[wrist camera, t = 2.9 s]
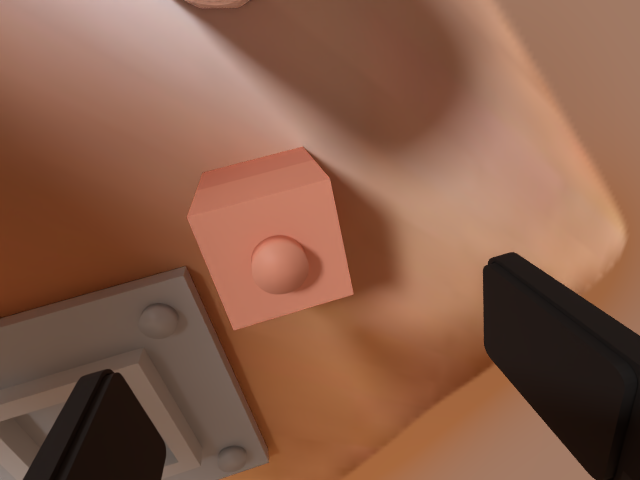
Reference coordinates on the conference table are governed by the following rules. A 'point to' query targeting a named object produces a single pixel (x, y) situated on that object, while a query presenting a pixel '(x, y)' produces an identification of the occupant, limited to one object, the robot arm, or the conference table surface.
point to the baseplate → (129, 375)
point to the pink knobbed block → (270, 236)
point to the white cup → (217, 3)
